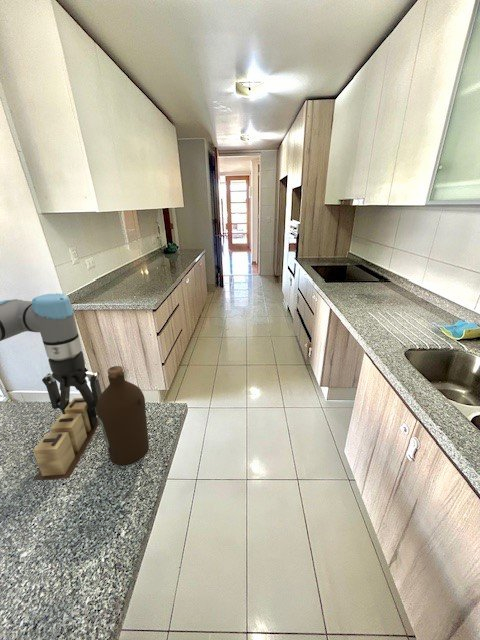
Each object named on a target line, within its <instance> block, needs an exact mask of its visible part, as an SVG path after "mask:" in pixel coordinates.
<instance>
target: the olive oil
mask: <svg viewBox="0 0 480 640" xmlns="http://www.w3.org/2000/svg"><path fill="white" fill-rule="evenodd" d="M125 377H126V376H125V372H124V368H123V366H121V365H114V366H111V367H109V368H108V369H107V378H108V382H109V384H108V386H107V387H106V388H105V389H104V390H103V391H101V392H102V394H101V395H100V397H99V399H98V402H97V417H98V418H99V422H100V424H99V426H100V427H101V431H102V434H103V439H104V440H105V443H106V448H107V451H108V454H109V455H108V456H109V459H110V461H111V462H112V463H113V464H114V465H115V466H119V467H126V466H131V465H134V464H136V463H138V462H139V461H140V460H142V459H143V458H144V457H145V456H146V455H148V452H149V449H150V444H149V434H148V433H149V432H148V423H147V409H146V399H145V395H144V392H143V390H142V389H141V388H140V387H139V386H138V385H136V384H134V383H132V382H130V381H128V380H126V378H125Z"/></svg>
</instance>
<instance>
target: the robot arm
mask: <svg viewBox="0 0 480 640" xmlns="http://www.w3.org/2000/svg"><path fill="white" fill-rule="evenodd" d="M75 317H76V316H75V311H74V308H73V305H72V303H71V299H70V297H69V296H68V295H67V294H64V293H57V292H56V293H46V294H41V295H38V296H35V297H33V298H32V300H23V299H17V298H15V299H13V298H12V299H3V300H1V301H0V342H2V341H4V340H7V339H9V338H12V337H14V336H17V335H20V334H23V333H25V332H32V333H39V334H40V337H41V340H42V343H43V346H44V350H45V353H46V357H47V358H48V365H49V368H50V371H51V372H52V373H47V374H46V375H45V376H44V377H43V378H42V379H41V381H42V383H43V384H44V385H45V387H46V391H47V393H48V397H49V401H50V404H51V408H52V409H53V410H57V409H59V411H61V413H62V414H65V409H66V407H67V406H68V405H69V403H70V402H71V401H70V397H71V396H70V395H71V393H70V392H71V387H74V388H75V389H76V391H78V392H79V393H80V396H81V398H83V399H84V400H85V402H86V404H87V405H88V408H87V414H88V418H89V422H90V426H91V428H94V427H95V425H96V423H97V422H98V421H97V417H98V415H97V402H98V399H99V397H100V395H101V394H102V392H103V391H102V389H101V384H100V380H99V377H100V372H99V371H95V372H92V371H89V370H88V369H87V367H86V361H85V360H86V359H85V357H84V352H83V348H82V344H81V340H80V335H79V331H78V327H77V322H76V318H75ZM86 378H87V379H88V380H87V379H86ZM88 382H89V385H88ZM58 384H59V385H58Z"/></svg>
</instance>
